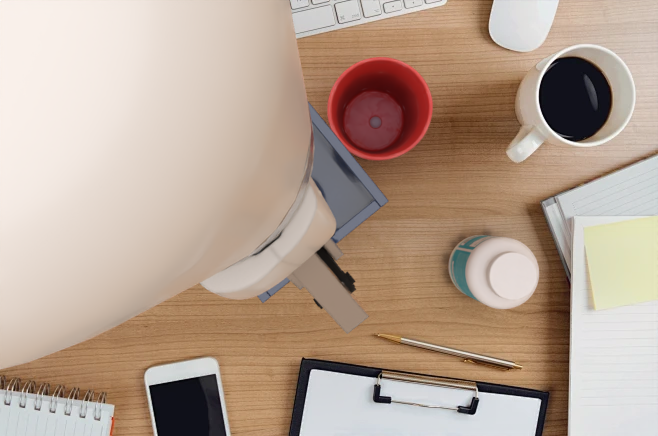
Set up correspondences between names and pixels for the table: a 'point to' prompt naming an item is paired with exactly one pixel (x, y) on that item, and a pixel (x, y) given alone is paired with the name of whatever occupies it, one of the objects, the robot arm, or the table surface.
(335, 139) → the open box
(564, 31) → the table surface
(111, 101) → the robot arm
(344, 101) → the flower pot
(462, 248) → the pill bottle
